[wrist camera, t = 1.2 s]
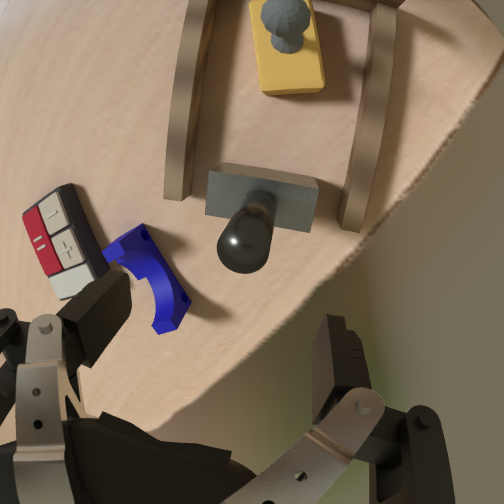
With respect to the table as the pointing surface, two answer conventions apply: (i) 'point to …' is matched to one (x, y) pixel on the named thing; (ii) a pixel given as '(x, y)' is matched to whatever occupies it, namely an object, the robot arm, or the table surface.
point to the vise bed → (368, 122)
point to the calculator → (64, 242)
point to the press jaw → (257, 210)
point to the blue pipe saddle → (151, 276)
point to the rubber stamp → (286, 47)
